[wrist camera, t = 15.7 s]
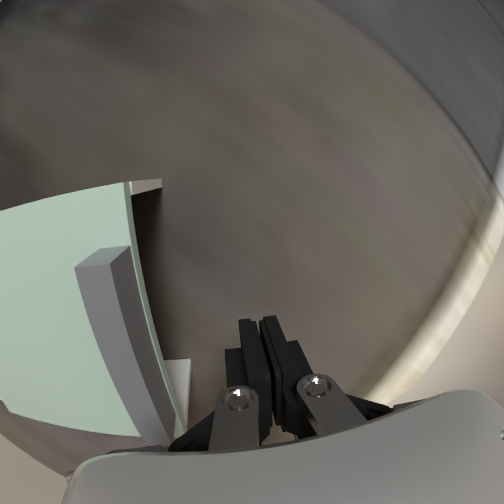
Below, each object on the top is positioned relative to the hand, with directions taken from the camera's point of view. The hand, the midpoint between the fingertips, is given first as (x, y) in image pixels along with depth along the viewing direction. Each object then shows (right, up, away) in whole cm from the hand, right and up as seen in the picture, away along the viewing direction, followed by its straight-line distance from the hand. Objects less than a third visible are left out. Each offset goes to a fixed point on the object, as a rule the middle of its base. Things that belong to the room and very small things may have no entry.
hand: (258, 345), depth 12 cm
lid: (-13, -1, 0) cm, 13 cm away
